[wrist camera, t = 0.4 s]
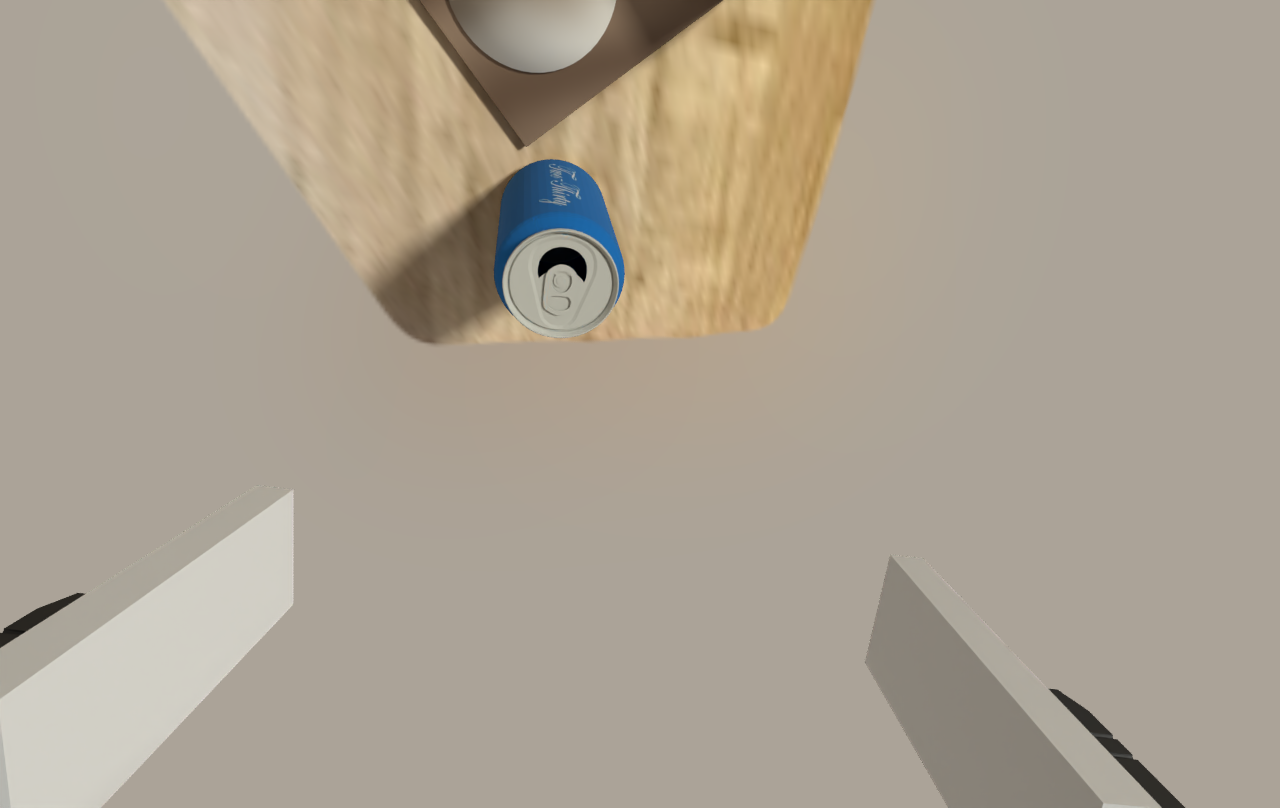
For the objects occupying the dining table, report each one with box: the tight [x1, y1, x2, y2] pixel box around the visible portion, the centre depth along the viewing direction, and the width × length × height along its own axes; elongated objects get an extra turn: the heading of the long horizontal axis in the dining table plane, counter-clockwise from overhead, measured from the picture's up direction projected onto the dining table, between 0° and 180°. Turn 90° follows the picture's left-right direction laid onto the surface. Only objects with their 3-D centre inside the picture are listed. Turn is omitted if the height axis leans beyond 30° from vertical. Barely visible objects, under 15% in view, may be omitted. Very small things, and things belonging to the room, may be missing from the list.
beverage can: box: [494, 159, 625, 338], centre depth 36 cm, size 6×6×12 cm
